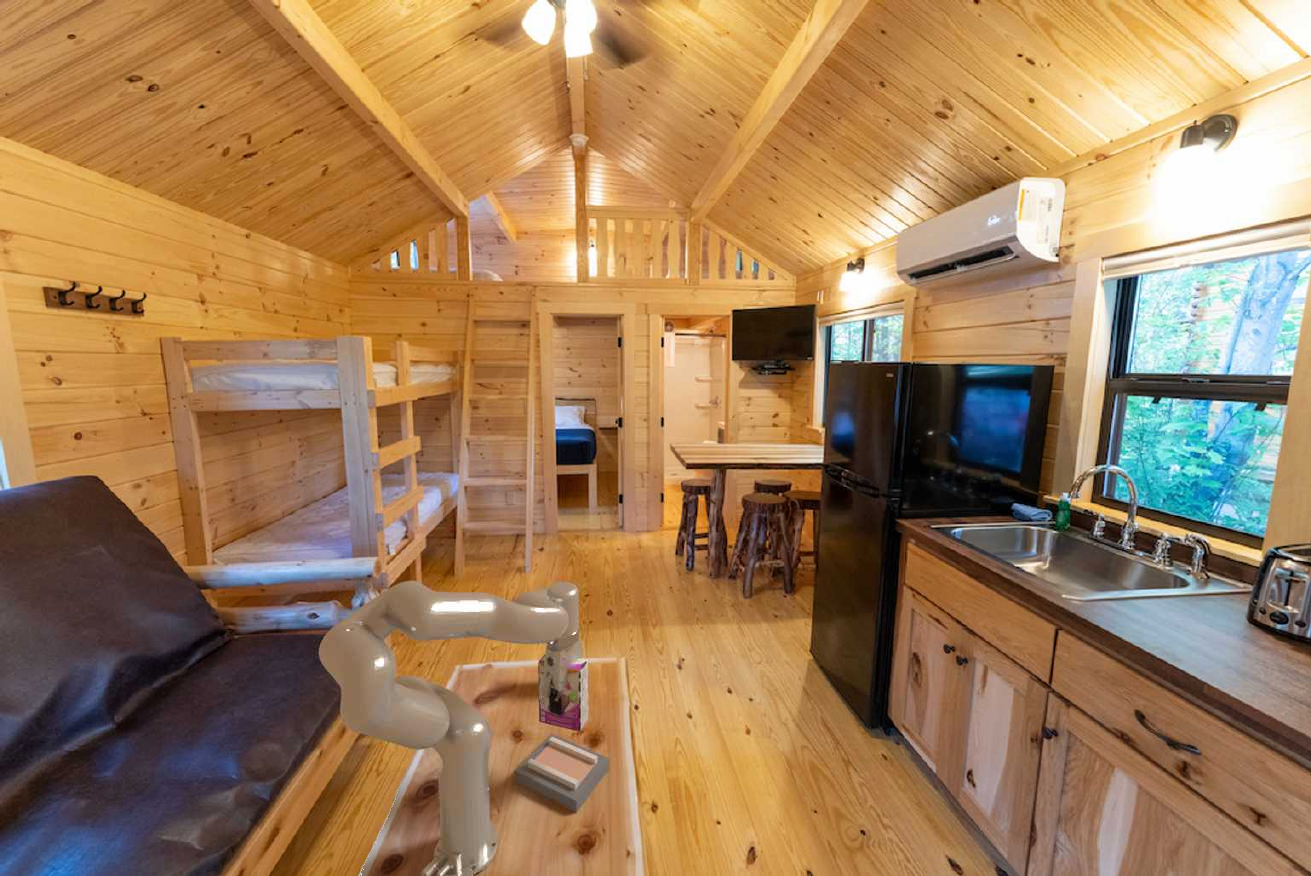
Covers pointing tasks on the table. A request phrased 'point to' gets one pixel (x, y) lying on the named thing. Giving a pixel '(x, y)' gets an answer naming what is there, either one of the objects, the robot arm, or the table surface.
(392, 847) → the table surface
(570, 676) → the candy bar box
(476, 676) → the table surface
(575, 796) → the display plinth
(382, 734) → the robot arm
